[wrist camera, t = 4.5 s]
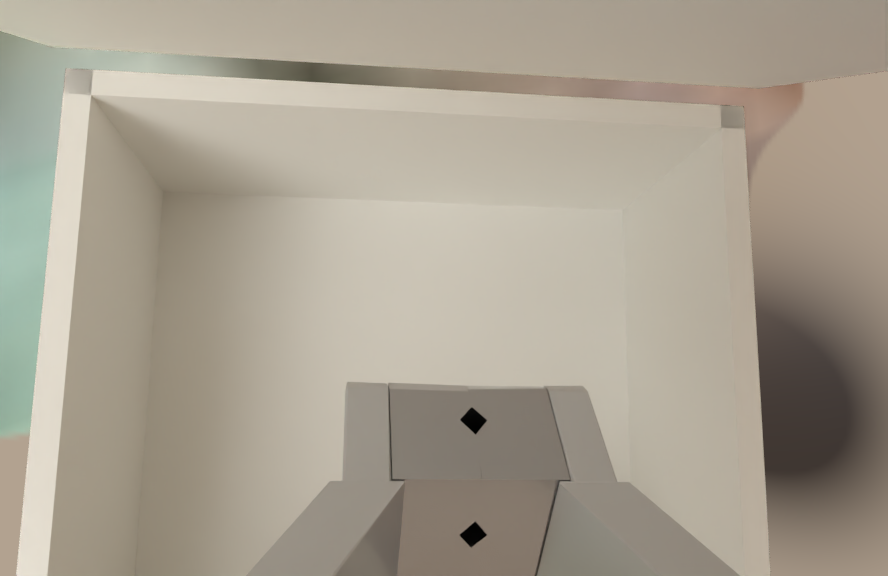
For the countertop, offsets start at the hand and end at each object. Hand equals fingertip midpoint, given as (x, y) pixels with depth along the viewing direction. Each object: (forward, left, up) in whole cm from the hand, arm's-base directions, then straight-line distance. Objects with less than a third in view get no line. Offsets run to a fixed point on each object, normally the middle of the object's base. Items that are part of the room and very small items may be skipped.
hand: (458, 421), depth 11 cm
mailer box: (0, 0, -16) cm, 16 cm away
